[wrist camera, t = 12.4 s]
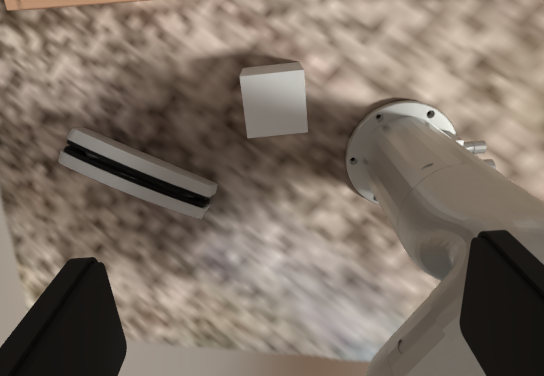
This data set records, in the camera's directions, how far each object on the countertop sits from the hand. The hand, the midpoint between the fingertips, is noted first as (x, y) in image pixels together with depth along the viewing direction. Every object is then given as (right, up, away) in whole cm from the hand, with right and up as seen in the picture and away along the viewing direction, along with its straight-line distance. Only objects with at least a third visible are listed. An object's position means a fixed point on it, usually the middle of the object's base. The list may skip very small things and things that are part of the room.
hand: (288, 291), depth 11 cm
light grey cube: (0, +13, +34) cm, 37 cm away
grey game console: (-15, +6, +38) cm, 41 cm away
